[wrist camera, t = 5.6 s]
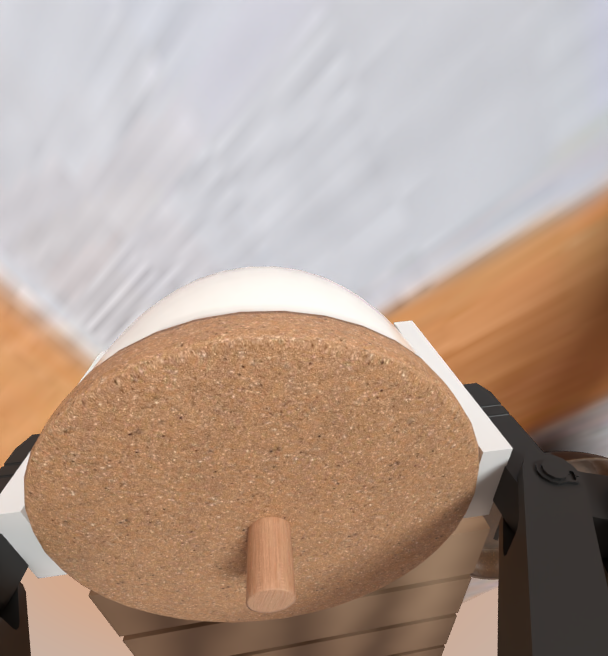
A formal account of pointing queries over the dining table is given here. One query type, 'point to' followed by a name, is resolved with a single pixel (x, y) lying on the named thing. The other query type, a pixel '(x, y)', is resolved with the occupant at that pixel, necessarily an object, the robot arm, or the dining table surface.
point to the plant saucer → (490, 552)
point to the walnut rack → (327, 616)
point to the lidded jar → (251, 454)
